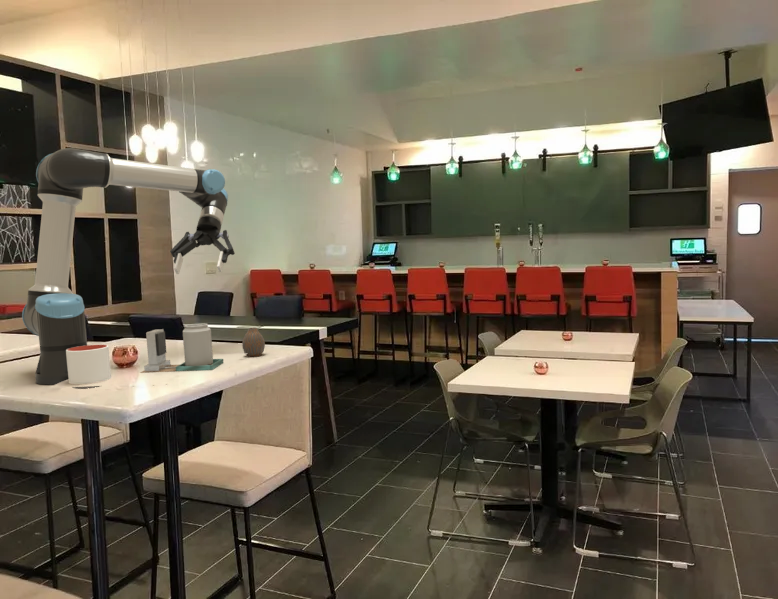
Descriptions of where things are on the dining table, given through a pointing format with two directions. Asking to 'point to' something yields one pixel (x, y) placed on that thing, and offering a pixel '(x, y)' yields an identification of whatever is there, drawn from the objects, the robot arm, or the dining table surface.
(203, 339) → the can
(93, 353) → the cup
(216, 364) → the teal rectangular pan
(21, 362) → the dining table surface
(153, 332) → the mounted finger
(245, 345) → the vase
